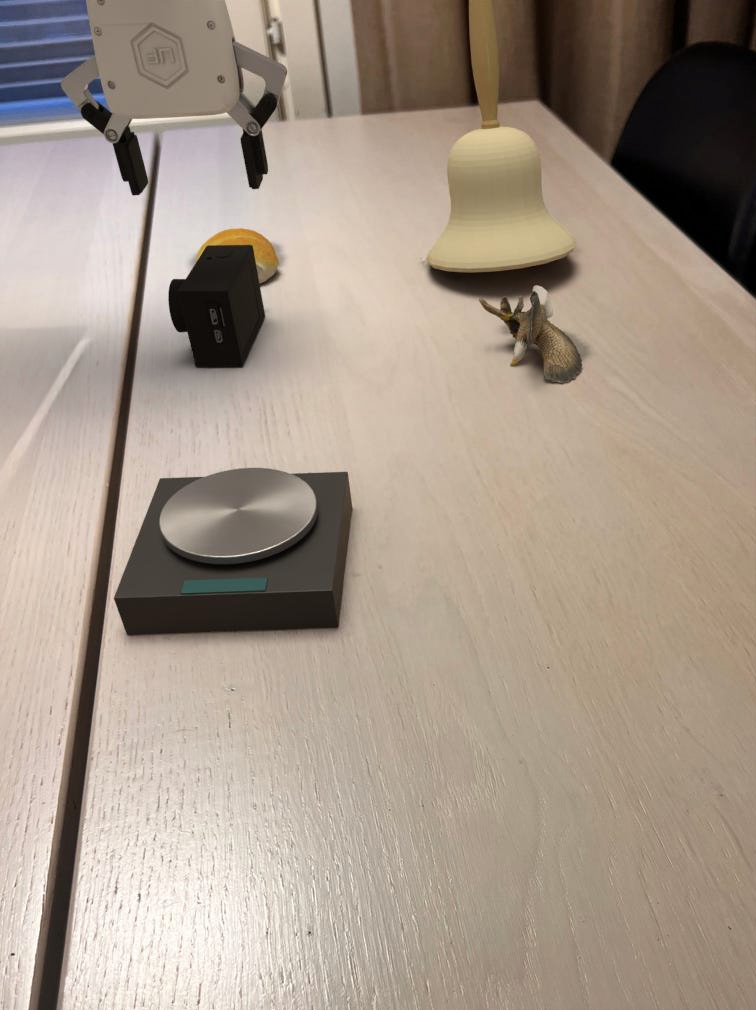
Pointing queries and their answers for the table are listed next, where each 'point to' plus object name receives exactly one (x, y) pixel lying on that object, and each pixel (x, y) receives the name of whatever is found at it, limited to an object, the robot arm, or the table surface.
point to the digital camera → (219, 305)
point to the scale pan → (238, 515)
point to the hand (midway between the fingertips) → (198, 186)
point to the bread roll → (240, 236)
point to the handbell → (495, 181)
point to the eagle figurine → (539, 335)
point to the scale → (239, 575)
